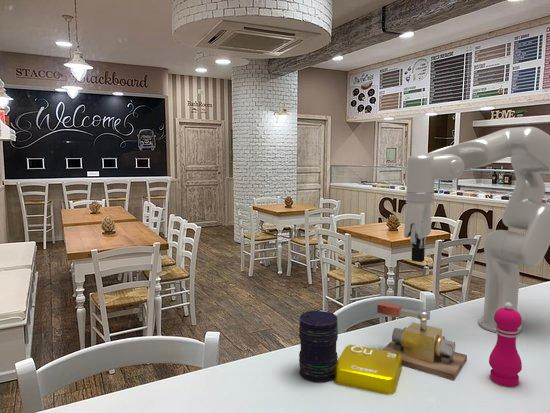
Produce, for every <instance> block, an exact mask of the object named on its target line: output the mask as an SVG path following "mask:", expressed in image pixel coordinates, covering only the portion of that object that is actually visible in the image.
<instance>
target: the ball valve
mask: <svg viewBox="0 0 550 413" xmlns="http://www.w3.org/2000/svg"><path fill="white" fill-rule="evenodd" d="M419 320H420V319H419ZM427 321H428V320H420V323H417V322H412V323H411V324H410V325H408V326H406V327H404V328H397V327H394V328H393V330H392V333H391V341H393V342H395V343H394V350H398V351H401V350H402V349H403V348H404V355H405V356H409V357H413V358H416V359H420V360H423V361H427V362H431V363H434V362H435V360H436V359H437V358H438V357H440V358H441V362H442V363H445V364H450V362H451V361H452V360H453V356H454V353H455V352H456V341H453V340H448V339H446V337H445V336H444V335H443V329H442V328H440V327H436V326H431V325H427V323H428V322H427Z"/></svg>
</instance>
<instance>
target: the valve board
mask: <svg viewBox="0 0 550 413" xmlns="http://www.w3.org/2000/svg"><path fill="white" fill-rule="evenodd" d="M394 343H395V342H393V341H392V340H391V341H390V342H389V343H388V344H387V345H386V346H384V347H383V348H382V349H381V350H385V351H391V352H396V353H400V355H401V356H402V367H406V368H410V369H414V370H417V371H421V372H424V373H427V374H431V375H434V376H437V377H441V378H445V379H447V380H451V381H455V379H457V376H458V375H459V373H460V372H461V370H462V369H463V367H464V365H465V364H466V362H467V360H468V357H467V356H468V355H467V354H465V353H460V352H457V351H455V353H454V356H453V360H452V361H451V362H450V364H445V363H442V362H441V358H440V357H438V358H437V359H436V360H435V362H434V363H431V362H427V361H423V360H420V359H416V358H413V357H409V356H405V355H404V348H403V349H402V350H401V351H398V350H394Z"/></svg>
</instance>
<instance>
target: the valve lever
mask: <svg viewBox="0 0 550 413" xmlns="http://www.w3.org/2000/svg"><path fill="white" fill-rule="evenodd" d="M376 306H377V310H376V311H377V312H376V313H377V314H381V315H386V316H390V317H395V318H396V317H397V318H399V317H400V316H404V317H411V318H416V319H418V320H427V321H429V320H430V319H431V312H430V310H427V309H418V310H413V309H407V308H403V306H402V305H400V304H395V303H390V302H385V301H380V302H379V303H377V305H376Z"/></svg>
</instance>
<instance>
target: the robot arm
mask: <svg viewBox="0 0 550 413" xmlns="http://www.w3.org/2000/svg"><path fill="white" fill-rule="evenodd" d="M509 157H510V163H511V167H512V169H513V172H514V175H515V180H516V183H515V187H514V188H513V192H512V193H511V196H510V198H509V200H508V201H507V203H506V206H505V208H504V211H503V213H502V216H501V220H502V223H503V224H504V226H506V227H508V228H510V229H512V230H517V231H523V232H525V233H520V232H517V231H511V230H506V229H505V230H504V229H495V230H492V231H489V233H488V234H487V235H486V236H485V238H484V241H483V251H484V257H485V284H484V285H485V286H484V287H485V288H484V303H483V308H484V309H483V316H481V317H479V318H478V320H477V322H478V325H479V327H481V328H483V329H484V330H486V331H489V332H494V333H496V326H497V324H496V323H495V321H494V315H495V312H496V311H497V310H498V309H500V308H505V306H504V305H505V303H507V302H509V303H511V304H512V305H513V308H512V309H514V310H516V311H517V312H518V307H519V306H518V303H519V287H520V271H519V268H518V266H520V267H526V268H532V267H536V266H537V265H539V264H540V263H541V262H543V261H542V260H543V259H544V257H545V255H546V253H547V252H548V250H549V247H550V203H547V202H543V198H544V196H545V193H546V185H545V182H544V180H543V178H542V176H541V173H550V134H548V133H547V132H545V131H543V130H542V129H540V128H538V127H536V126H535V127H534V126H520V127H519V126H518V127H506V128H502V129H500V130H496V131H494V132H492V133H489V134H487V135H483V136H481V137H478V138H475V139H471V140H467V141H464V142H461V143H457V144H453V145H449V146H444V147H442V148H438V149H435V150H432V151H430V152H427V153H425V154H413V155H409V157H408V158H407V162H406V163H407V164H406V193H405V194H406V195H405V203H406V204H407V205H406V209H405V216H404V217H405V218H404V230H403V231H404V232H403V236H404V238H405V239H408V238H410V240H409V241H410V242H409V243H410V244H411V262H418V263H423V262H424V261H425V251H426V250H425V247H426V240H427V237H428V236H430V234H431V232H432V205H434V204H435V202H434V201H435V180H439V181H454V180H457V179H458V178H460V177H461V176H462V175H463V173H464V170H465V169H474V168H480V167H486V166H489V165H491V164H493V163H496V162H499V161H501V160H503V159H506V158H509ZM522 329H523V326H522V325H521V326H520V327H519V328H518V330H519V332H518V334H519V333H520V332H522Z"/></svg>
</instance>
